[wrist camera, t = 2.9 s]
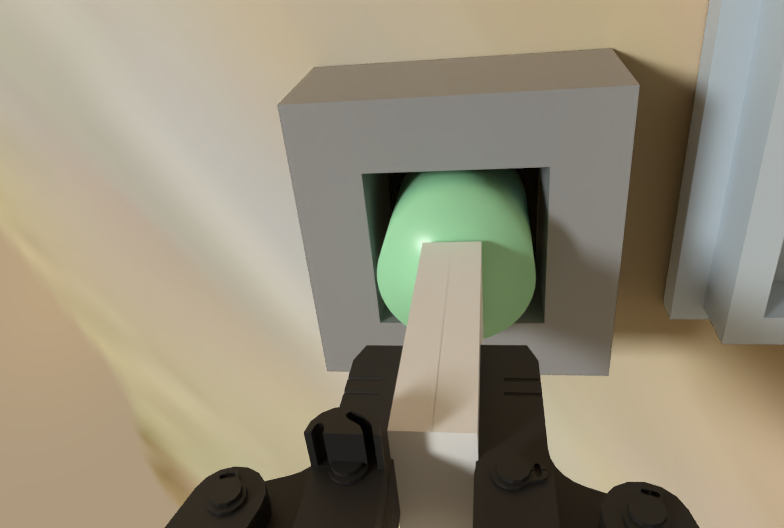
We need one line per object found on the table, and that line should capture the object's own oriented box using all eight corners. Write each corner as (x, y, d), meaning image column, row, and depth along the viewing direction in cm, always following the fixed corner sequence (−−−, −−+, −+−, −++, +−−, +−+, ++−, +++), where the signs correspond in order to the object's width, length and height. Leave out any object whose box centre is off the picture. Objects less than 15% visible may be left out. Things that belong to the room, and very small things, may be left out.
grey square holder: (314, 67, 20) (277, 104, 16) (611, 48, 18) (639, 84, 15) (349, 303, 24) (327, 371, 21) (590, 302, 23) (608, 375, 19)
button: (392, 147, 20) (368, 210, 16) (528, 141, 19) (537, 205, 15) (403, 262, 22) (385, 341, 18) (525, 260, 21) (534, 342, 17)
